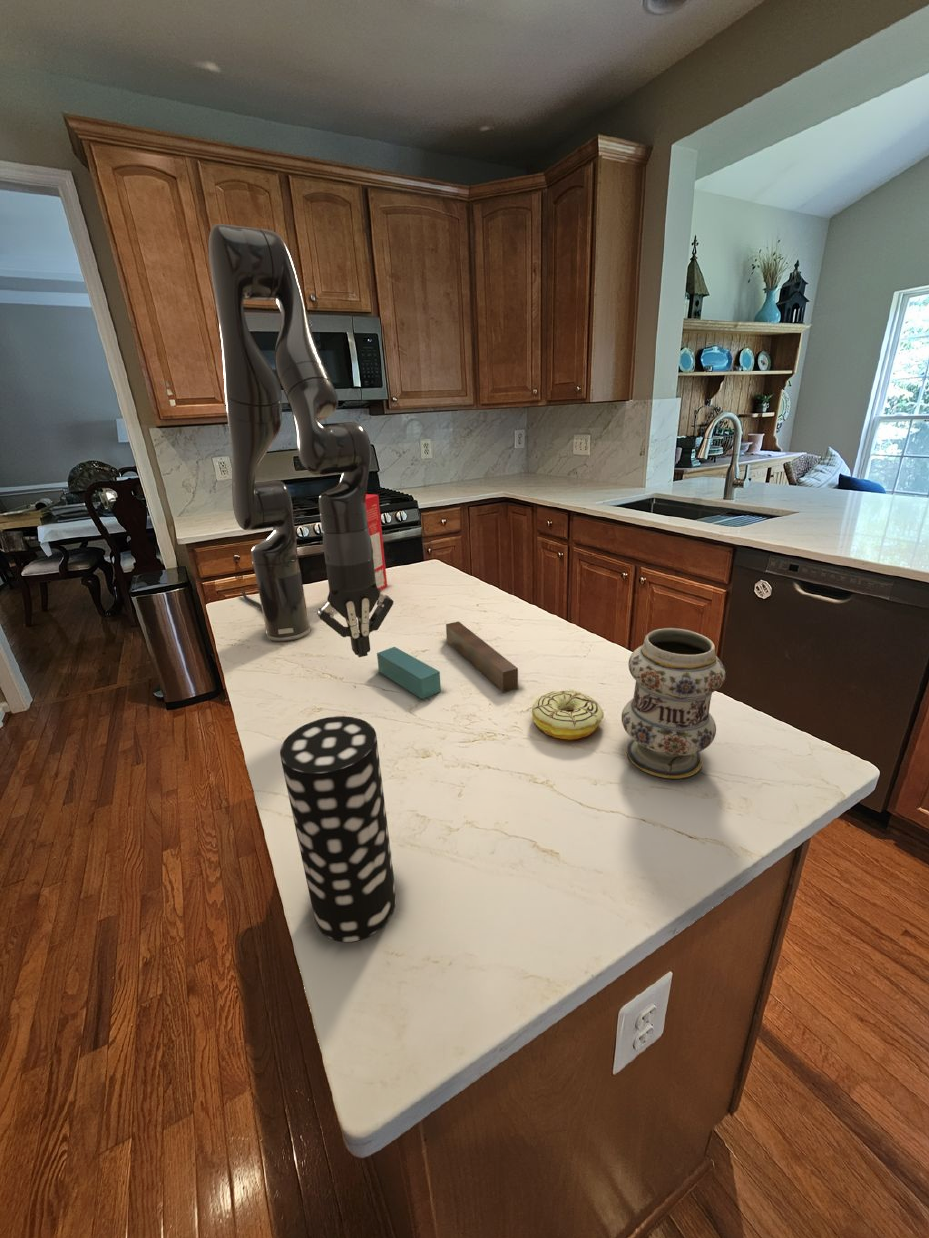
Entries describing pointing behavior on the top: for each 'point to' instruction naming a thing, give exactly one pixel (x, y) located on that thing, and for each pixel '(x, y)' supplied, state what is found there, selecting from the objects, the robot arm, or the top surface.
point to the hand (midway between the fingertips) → (361, 654)
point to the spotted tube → (341, 825)
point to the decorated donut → (567, 714)
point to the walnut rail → (483, 657)
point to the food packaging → (376, 539)
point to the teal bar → (409, 672)
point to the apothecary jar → (672, 702)
